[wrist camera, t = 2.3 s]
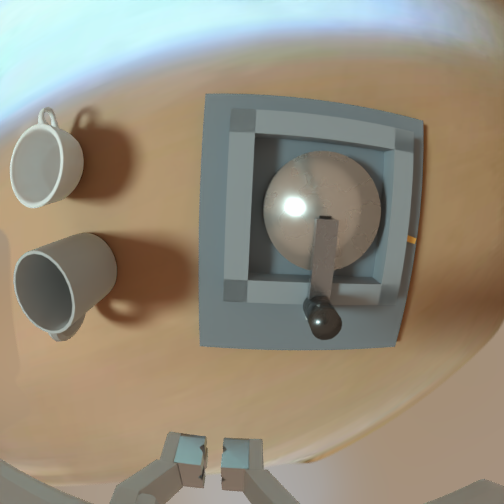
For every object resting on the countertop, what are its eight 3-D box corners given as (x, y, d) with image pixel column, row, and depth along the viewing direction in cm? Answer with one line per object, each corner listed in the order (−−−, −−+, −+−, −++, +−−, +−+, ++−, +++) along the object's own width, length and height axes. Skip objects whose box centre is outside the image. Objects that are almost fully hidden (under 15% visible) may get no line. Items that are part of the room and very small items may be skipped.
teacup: (96, 197, 27) (67, 201, 21) (42, 207, 27) (12, 213, 21) (92, 103, 24) (65, 91, 19) (39, 122, 24) (10, 116, 19)
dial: (265, 148, 24) (270, 137, 18) (375, 160, 24) (407, 155, 18) (257, 306, 27) (258, 339, 21) (359, 308, 28) (382, 338, 22)
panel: (207, 97, 25) (201, 86, 21) (417, 122, 25) (434, 117, 21) (201, 340, 30) (196, 357, 27) (390, 341, 30) (402, 356, 27)
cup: (122, 239, 28) (76, 262, 19) (115, 327, 30) (78, 370, 21) (66, 225, 27) (12, 241, 18) (63, 308, 29) (20, 342, 21)
